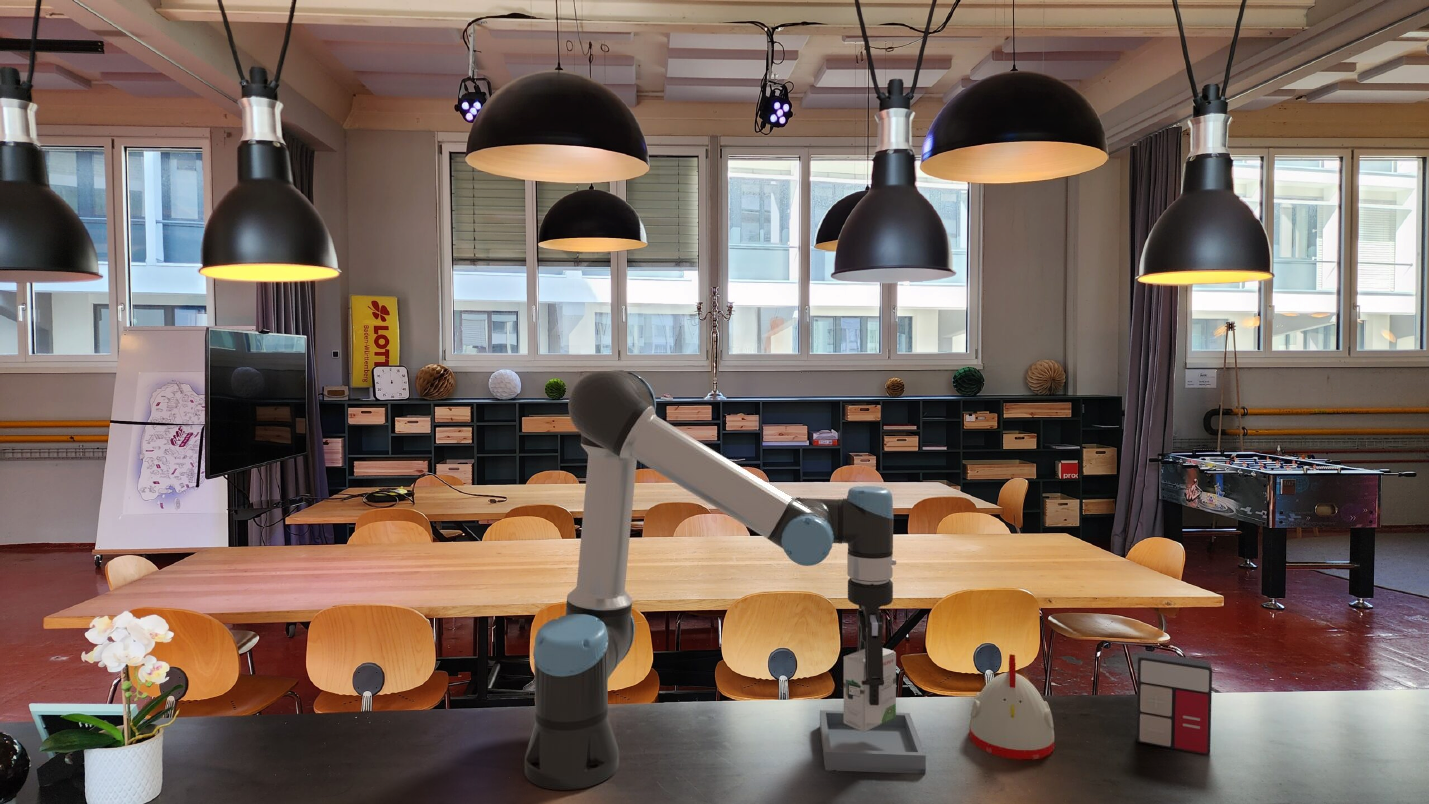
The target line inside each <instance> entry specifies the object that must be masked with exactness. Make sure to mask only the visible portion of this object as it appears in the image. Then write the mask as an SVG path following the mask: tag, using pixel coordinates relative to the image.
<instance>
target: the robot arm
mask: <svg viewBox="0 0 1429 804" xmlns="http://www.w3.org/2000/svg"><path fill="white" fill-rule="evenodd" d="M568 397H569V398H568V402H567V403H568V405H567V406H568V413H569V414H568V415H569V418H570V420H571V422H572V424H573V426H574V428H575V429H576V430H577V431H578V432H579V434H581V435H580V436H581V437H580V446H581V447H582V448H583V449H584V451H585V452H586V453H587V455H588V456H587V466H586V467H587V468H586V478H585V488H584V502H583V509H582V510H583V512H582V520H581V521H582V523H581V534H580V545H579V557H578V568H577V577H576V586H575V588H574V589H572V590H571V591H569V593H568V594H567V596H566V602H565V603H566V605H565V607H566V608H565V615H562V616H559V617H558V618H557V619H556V618H552V619H550V620H549V621H547V622H545V623H543V625H542V626H540V628H539V629H538V630H537V632H536V634H535V639H534V646H533V652H532V654H533V664H534V665H533V666H534V667H533V668H534V672H533V673H534V708H535V709H534V711H535V712H534V713H535V717H534V718H535V722H534V726H533V729H532V733H531V736H530V739H529V742H528V746H527V749H526V752H525V755H524V775H525V777H526V779H527V780H528V781H529V782H531V783H532V784H533V785H535V786H538V787H541V788H544V789H548V790H554V791H555V790H556V791H571V790H572V791H573V790H580V789H584V788H589V787H593V786H595V785H598V784H601V783H603V782H604V781H606V780H609V778H611V777H612V776H613V775H615V773H616V772H617V770H618V768H619V767H620V752H619V747H618V744H617V739H616V737H615V734H614V731H613V728H612V725H611V722H610V720H609V716H608V715H609V714H608V713H609V712H608V711H609V710H608V709H609V708H608V707H609V705H608V703H609V702H608V701H609V700H608V699H609V697H608V696H609V695H608V690H609V689H608V681H609V678H610V677H611V675H612V674H613V673H614V671H615V670H616V669H617V667H618V665H620V663H621V662H622V661H623V660H624V659H625V657H627V655H628V654H629V651H630V650H631V647H632V645H633V642H634V640H635V633H636V632H635V630H636V625H635V621H634V620H635V619H634V617H633V615H632V606H633V598H632V596H630V594H629V593H628V592H627V591H626V580H627V579H626V578H627V570H628V558H629V548H630V539H631V537H630V536H631V527H632V525H631V524H632V514H633V506H634V495H635V485H636V472H637V461H638V462H640V463H641V464H643V465H644V466H646V467H648V468H649V469H650V470H651V469H652V470H653V471H654V472H657V473H658V474H659V475H661V476H663V477H664V478H667V479H668V480H670V481H671V482H673V483H674V484H676V485H678V486H679V487H681V488H683V489H685V490H686V491H688V492H690V493H691V494H692V495H694V496H696V497H698V498H699V499H700V500H702V501H704V502H705V503H707V504H709V505H711V506H713V507H714V508H716V509H717V510H719V511H721V513H722V512H723V513H724V514H725V515H727V516H729V517H731V518H732V519H734V520H736V521H737V522H739V523H740V524H743V526H746V527H747V528H749V529H750V530H752V531H753V532H755V533H756V534H758V535H760V536H762V537H764V539H767V540H769V541H770V542H771V543H773V544H775V545H776V546H778V547H780V548H781V549H783V551H784V553H785V555H786V556H787V558H788V559H790V561H792V562H793V563H795V564H797V565H798V566H799V565H800V566H805V567H808V566H809V567H811V566H815V565H818V564H820V563H821V562H823V561H824V560H825V559H826V558H827V557H828V556H829V555H830V552H831V550H832V548H833V544H840V545H841V544H847V565H846V566H847V567H846V568H847V570H846V571H847V572H846V573H847V577H849V579H848V580H847V600H848V602H850V603H851V604H853V605H856V606H858V609H857V613H856V615H857V628H858V629H857V631H858V633H857V647H856V648H857V649H856V650H857V652H858V651H861V650H864V649H865V662H866V679H865V681H862V685H865V723H882V686H883V685H884V680H883V648H884V647H883V646H884V645H883V638H884V637H883V629H884V615H883V614H882V610H880V608H881V607H883V606H884V607H887V606H889V605H891V604H892V603H893V600H894V598H893V597H894V596H893V595H894V594H893V593H894V590H893V589H894V586H893V585H894V583H893V581H892V580H891V579H892V578H893V570H894V569H893V566H896V565H897V559H894V558H893V555H894V517H895V516H894V505H893V503H894V502H893V493H892V492H891V491H890V490H889V489H888V488H884V487H881V486H871V485H870V486H869V485H865V486H864V485H863V486H858V485H857V486H853V487H850V488H849V489H848V491H847V496H846V498H812V497H811V498H807V497H806V498H805V497H800V496H797V497H793V498H792V496H790V495H788V494H787V493H785V492H783V491H782V490H780V489H778V488H777V487H775V486H773V485H772V484H770V483H768V482H767V481H765V480H763V479H762V478H761V477H759V476H757V475H755V474H753V473H752V472H750V471H749V470H747V469H745V468H744V467H742V466H740V465H738V464H737V463H735V462H733V461H731V460H730V459H729V458H727V457H725V456H723V455H722V454H720V453H718V452H717V451H715V450H714V449H712V448H710V447H709V446H707V445H705V444H703V443H702V442H700V441H698V440H696V439H695V438H693V437H692V436H690V435H688V434H687V433H685V432H683V431H682V430H680V429H679V428H677V427H675V426H674V425H672V424H671V423H669V422H667V421H665V420H663V419H662V418H660V417H658V416H657V414H656V411H657V410H656V408H657V400H656V396H655V393H654V390H653V389H652V387H651V386H650V384H649V383H648V382H647V380H645V379H644V378H643V377H641V376H640V375H638V374H636V373H634V372H632V371H626V370H624V369H619V370H616V369H614V370H600V371H594V372H590V373H588V374H587V375H585V376H583V377H581V378H580V379H579V381H578V382H576V384H575V385H574V386H573V388H572V390H571V392H570V395H569V396H568Z"/></svg>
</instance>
